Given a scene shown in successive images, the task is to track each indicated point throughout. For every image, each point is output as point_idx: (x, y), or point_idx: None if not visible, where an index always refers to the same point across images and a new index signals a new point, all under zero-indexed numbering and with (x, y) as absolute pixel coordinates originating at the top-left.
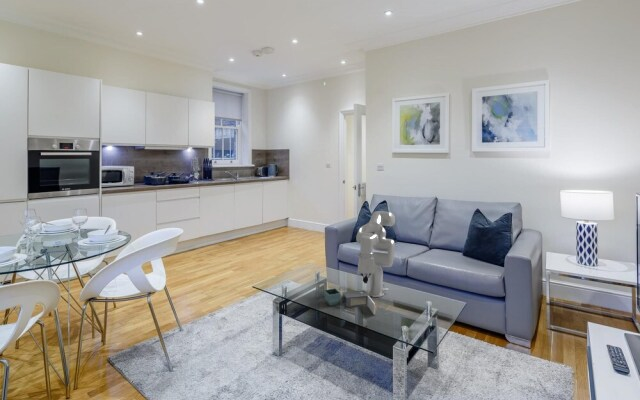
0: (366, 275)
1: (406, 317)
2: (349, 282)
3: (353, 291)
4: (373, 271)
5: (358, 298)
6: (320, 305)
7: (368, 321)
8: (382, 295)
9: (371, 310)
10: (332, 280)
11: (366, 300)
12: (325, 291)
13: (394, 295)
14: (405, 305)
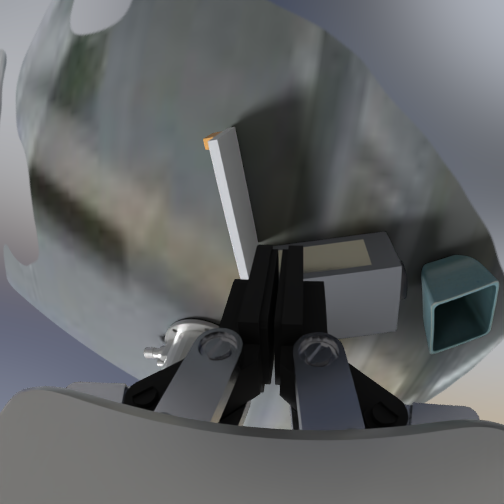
0: (245, 386)
1: (75, 119)
2: None
3: None
4: (5, 413)
5: (315, 269)
6: (489, 261)
7: (283, 48)
8: (172, 325)
9: (243, 173)
10: None
11: None
12: (491, 322)
13: (127, 322)
14: (79, 237)
